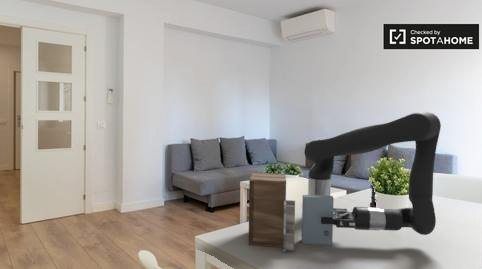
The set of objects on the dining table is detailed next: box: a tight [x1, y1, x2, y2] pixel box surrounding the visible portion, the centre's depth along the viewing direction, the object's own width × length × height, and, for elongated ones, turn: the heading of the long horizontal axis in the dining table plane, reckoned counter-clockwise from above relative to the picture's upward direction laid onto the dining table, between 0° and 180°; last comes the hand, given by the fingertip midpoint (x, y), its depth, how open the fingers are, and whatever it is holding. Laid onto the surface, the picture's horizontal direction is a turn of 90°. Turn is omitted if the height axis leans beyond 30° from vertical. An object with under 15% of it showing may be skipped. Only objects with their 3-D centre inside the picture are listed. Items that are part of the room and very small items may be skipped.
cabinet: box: [248, 172, 296, 252], centre depth 116 cm, size 19×15×22 cm
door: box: [301, 194, 335, 246], centre depth 115 cm, size 4×10×16 cm, turn 84°
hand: (319, 216), depth 115 cm, fingers open, 8 cm apart
